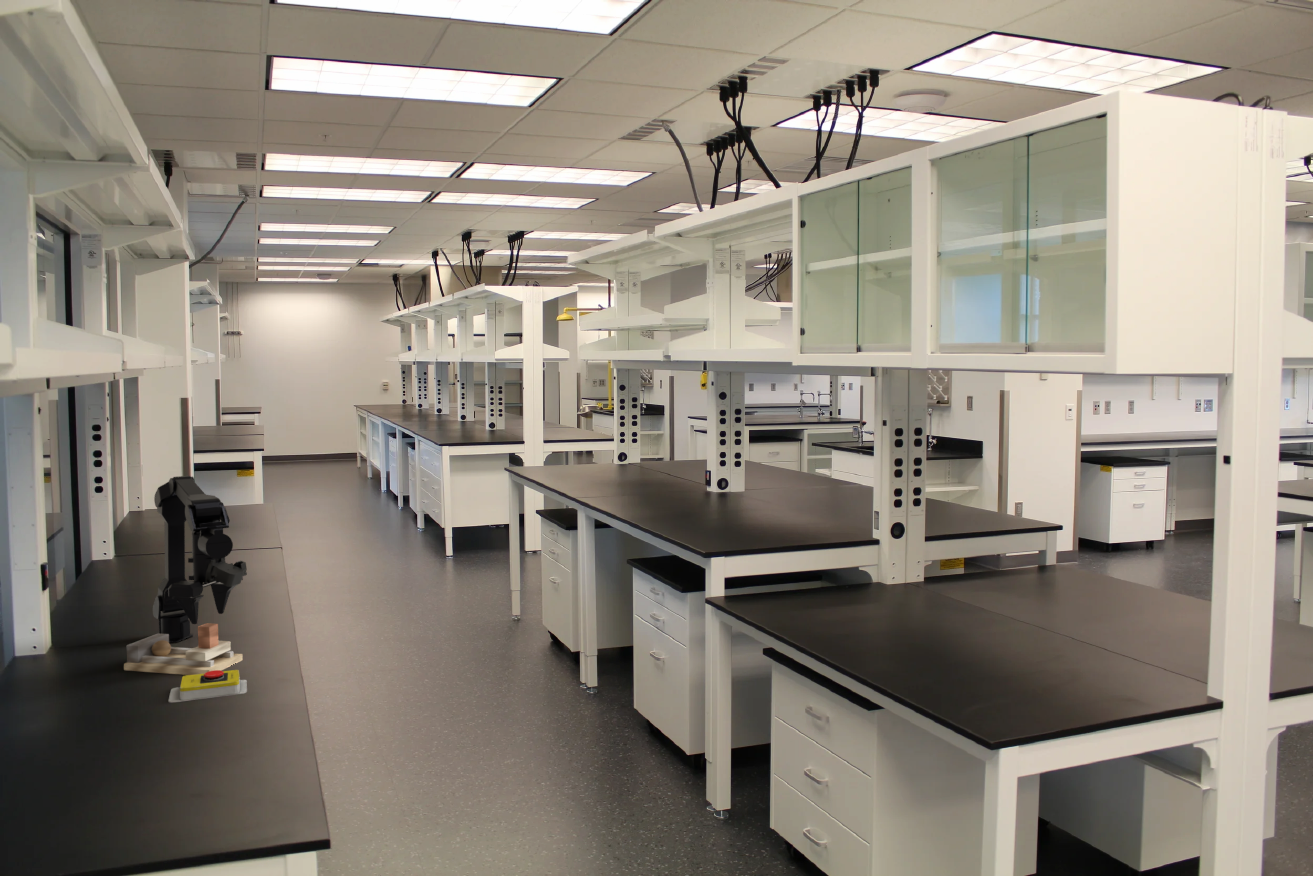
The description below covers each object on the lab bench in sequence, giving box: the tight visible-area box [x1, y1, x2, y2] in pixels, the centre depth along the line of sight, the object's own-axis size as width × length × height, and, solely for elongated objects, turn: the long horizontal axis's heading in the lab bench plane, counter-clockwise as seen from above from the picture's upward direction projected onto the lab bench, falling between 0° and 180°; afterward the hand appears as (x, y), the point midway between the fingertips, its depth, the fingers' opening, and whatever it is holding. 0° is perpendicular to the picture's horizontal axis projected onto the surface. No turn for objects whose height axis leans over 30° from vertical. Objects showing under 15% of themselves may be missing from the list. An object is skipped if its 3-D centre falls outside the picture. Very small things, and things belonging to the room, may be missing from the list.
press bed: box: [123, 632, 244, 676], centre depth 213 cm, size 22×12×6 cm, turn 79°
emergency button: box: [167, 669, 248, 704], centre depth 196 cm, size 9×4×15 cm
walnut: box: [152, 640, 172, 657], centre depth 214 cm, size 4×4×4 cm
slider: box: [186, 622, 232, 661], centre depth 212 cm, size 5×9×7 cm, turn 169°
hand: (208, 618), depth 212 cm, fingers open, 9 cm apart
